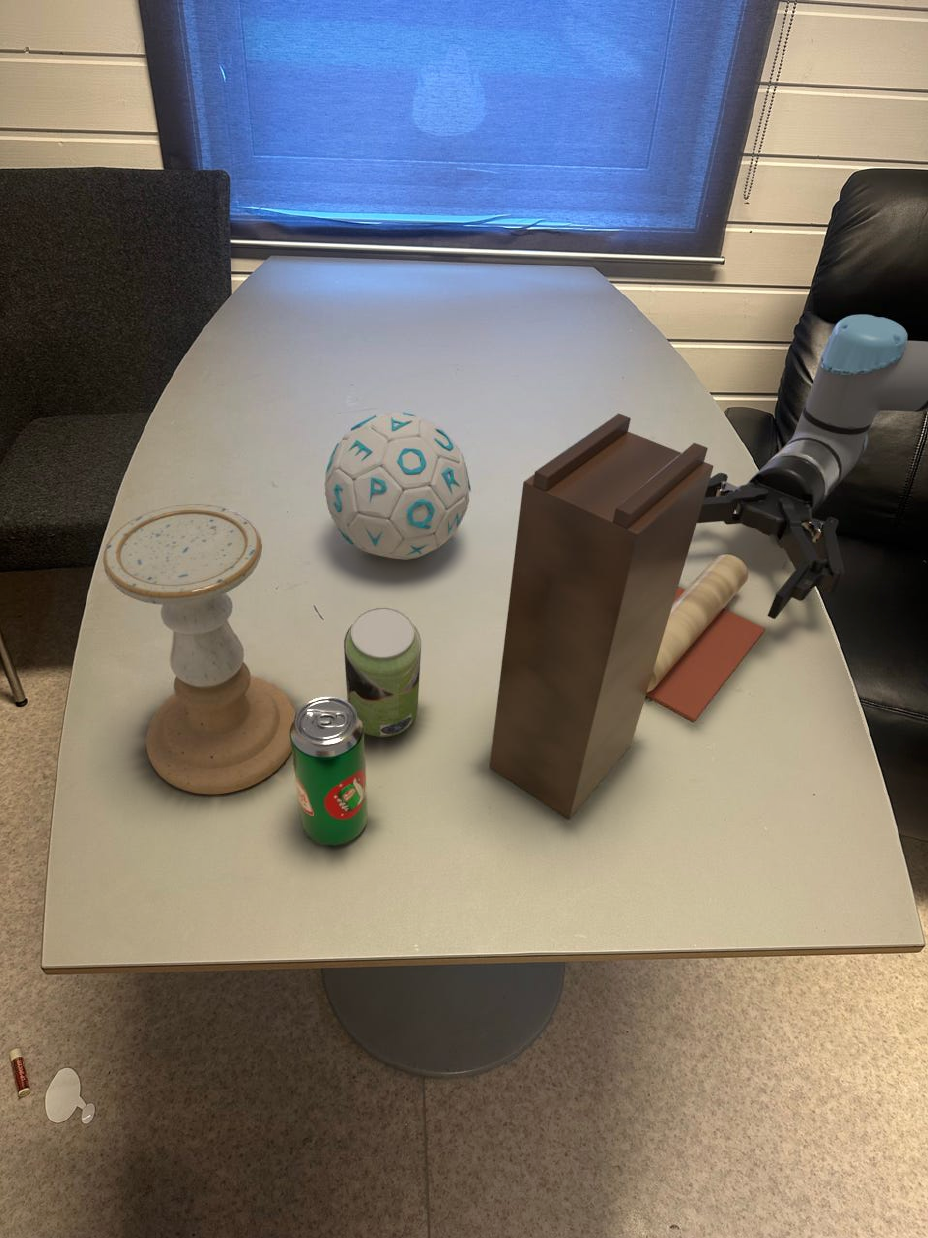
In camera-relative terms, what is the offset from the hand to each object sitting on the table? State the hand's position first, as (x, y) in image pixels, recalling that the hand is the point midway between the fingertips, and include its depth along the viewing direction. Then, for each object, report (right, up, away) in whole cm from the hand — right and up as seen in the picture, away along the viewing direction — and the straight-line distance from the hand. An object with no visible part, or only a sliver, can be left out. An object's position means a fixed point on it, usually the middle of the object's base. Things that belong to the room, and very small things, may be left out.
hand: (708, 576), depth 79 cm
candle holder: (-44, -14, -9) cm, 47 cm away
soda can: (-33, -20, -15) cm, 42 cm away
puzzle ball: (-31, +4, +12) cm, 33 cm away
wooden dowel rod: (-2, -6, +3) cm, 6 cm away
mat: (-3, -7, +2) cm, 7 cm away
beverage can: (-30, -13, -7) cm, 34 cm away
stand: (-15, -16, -9) cm, 24 cm away
